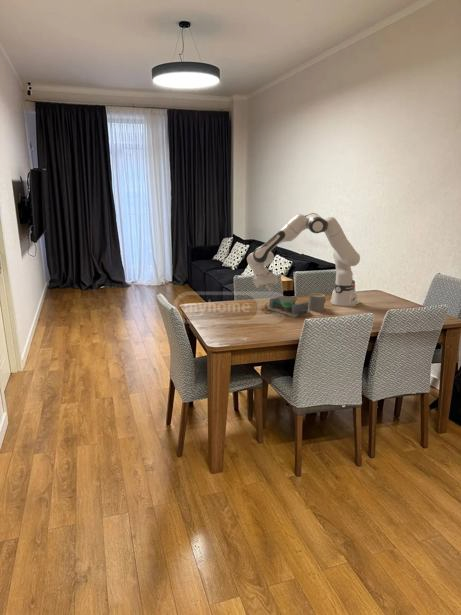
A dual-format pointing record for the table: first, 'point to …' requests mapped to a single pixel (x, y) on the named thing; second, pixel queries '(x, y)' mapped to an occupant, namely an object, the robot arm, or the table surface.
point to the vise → (294, 309)
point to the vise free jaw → (275, 302)
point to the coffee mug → (316, 302)
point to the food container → (287, 303)
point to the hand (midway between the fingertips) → (271, 290)
